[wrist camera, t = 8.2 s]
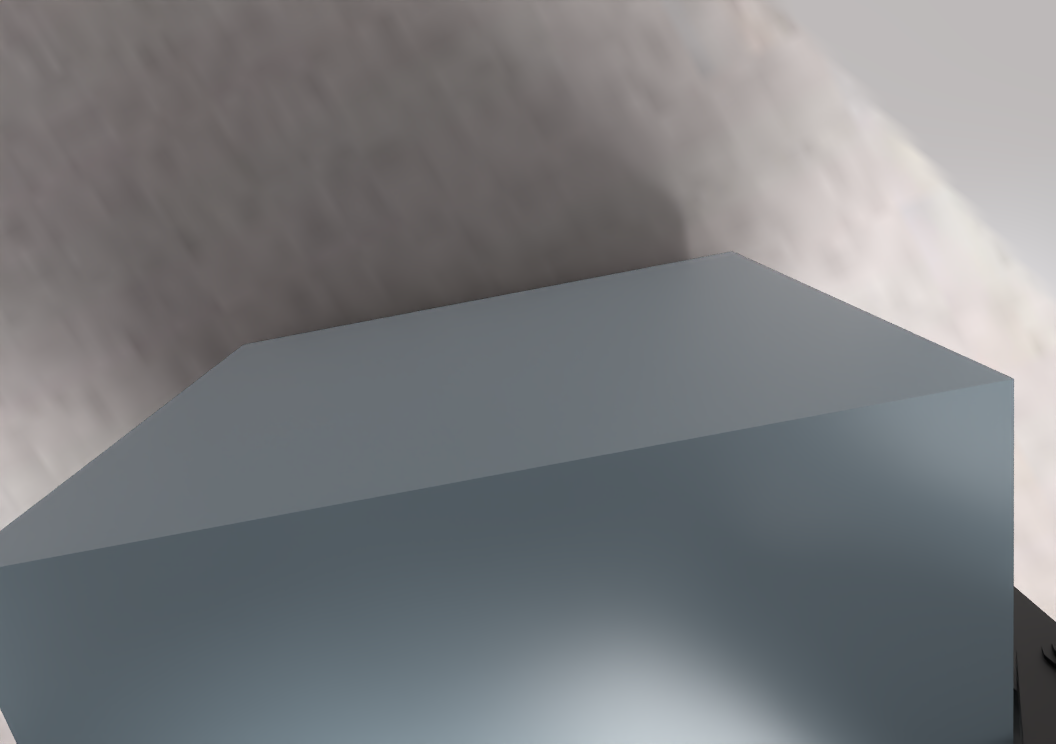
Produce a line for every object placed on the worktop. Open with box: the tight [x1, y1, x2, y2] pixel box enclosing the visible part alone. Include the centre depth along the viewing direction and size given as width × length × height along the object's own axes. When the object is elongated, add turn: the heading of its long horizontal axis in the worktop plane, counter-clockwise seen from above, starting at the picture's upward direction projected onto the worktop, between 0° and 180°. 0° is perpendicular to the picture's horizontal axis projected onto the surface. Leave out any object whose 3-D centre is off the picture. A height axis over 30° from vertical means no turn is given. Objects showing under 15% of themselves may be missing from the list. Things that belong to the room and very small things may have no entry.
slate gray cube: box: [0, 251, 1014, 744], centre depth 13 cm, size 10×10×9 cm
